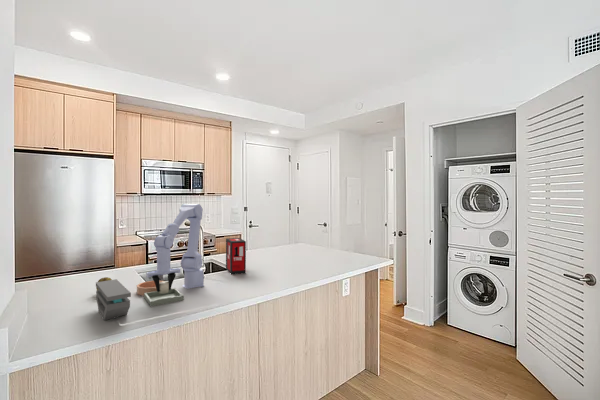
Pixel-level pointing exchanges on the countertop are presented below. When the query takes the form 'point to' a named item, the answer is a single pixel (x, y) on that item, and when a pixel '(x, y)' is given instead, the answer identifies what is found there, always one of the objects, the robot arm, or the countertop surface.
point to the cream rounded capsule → (163, 287)
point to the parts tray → (163, 297)
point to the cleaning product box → (236, 255)
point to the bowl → (146, 287)
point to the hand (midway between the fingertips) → (163, 290)
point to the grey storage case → (112, 299)
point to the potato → (104, 280)
